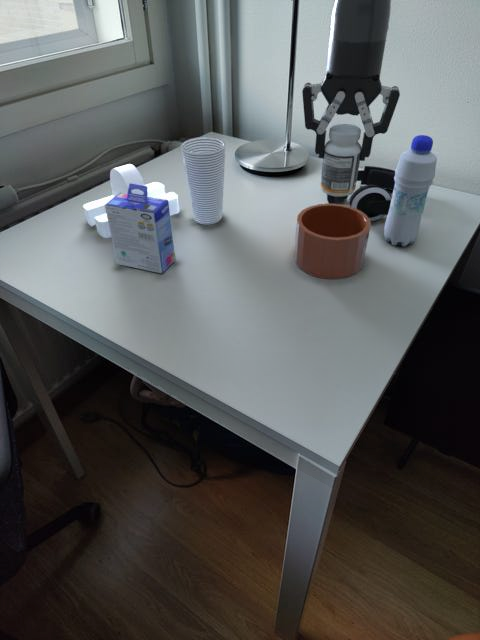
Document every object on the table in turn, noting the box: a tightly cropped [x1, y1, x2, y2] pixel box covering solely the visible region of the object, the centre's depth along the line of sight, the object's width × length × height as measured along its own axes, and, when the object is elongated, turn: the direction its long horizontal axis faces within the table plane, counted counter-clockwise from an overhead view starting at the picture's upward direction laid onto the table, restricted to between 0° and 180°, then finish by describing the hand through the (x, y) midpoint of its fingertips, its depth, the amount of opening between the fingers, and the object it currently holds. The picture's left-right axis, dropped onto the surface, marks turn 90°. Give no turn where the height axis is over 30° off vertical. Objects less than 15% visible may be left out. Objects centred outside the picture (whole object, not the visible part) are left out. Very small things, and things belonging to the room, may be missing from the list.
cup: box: [180, 136, 226, 225], centre depth 93 cm, size 8×8×16 cm
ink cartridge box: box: [105, 184, 176, 274], centre depth 81 cm, size 10×6×14 cm, turn 70°
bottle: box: [383, 134, 438, 247], centre depth 83 cm, size 7×7×20 cm
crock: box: [293, 203, 371, 280], centre depth 83 cm, size 13×13×8 cm
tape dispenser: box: [82, 163, 180, 239], centre depth 95 cm, size 10×18×11 cm, turn 127°
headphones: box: [326, 165, 395, 223], centre depth 99 cm, size 18×8×20 cm
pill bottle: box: [320, 123, 362, 197], centre depth 73 cm, size 6×6×10 cm
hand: (341, 157), depth 73 cm, fingers closed on pill bottle, 5 cm apart
